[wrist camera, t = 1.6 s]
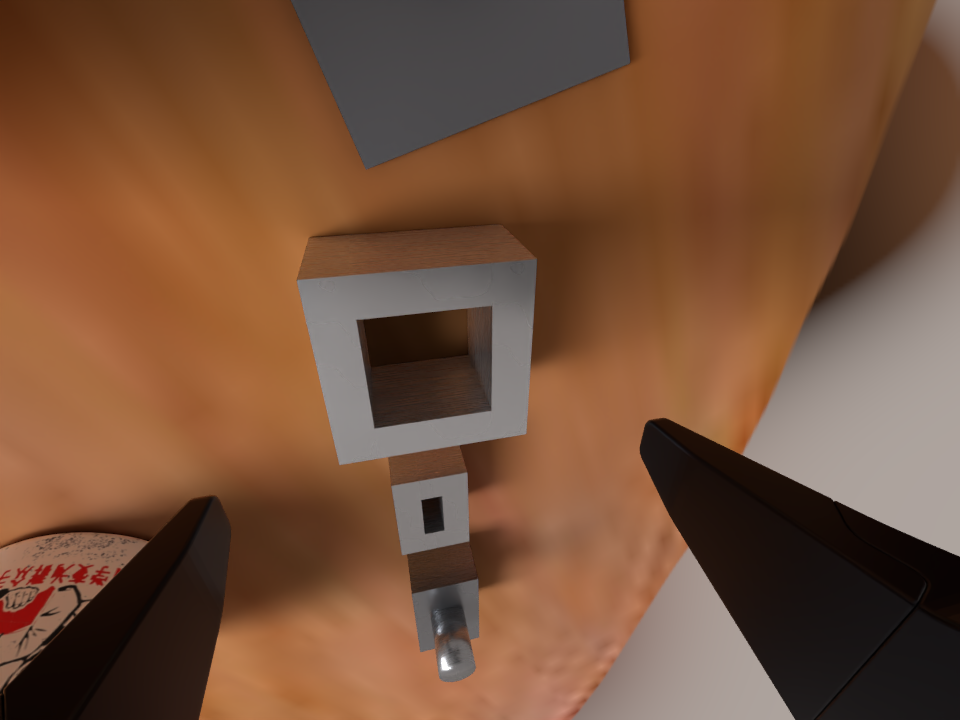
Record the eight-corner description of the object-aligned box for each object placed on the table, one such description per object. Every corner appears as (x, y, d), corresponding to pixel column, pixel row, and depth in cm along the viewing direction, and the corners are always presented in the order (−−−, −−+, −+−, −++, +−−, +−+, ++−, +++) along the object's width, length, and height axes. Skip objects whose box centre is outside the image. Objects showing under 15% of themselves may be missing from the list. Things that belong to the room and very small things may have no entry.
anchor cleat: (469, 593, 25) (490, 689, 21) (415, 605, 25) (426, 707, 21) (467, 534, 22) (491, 632, 18) (406, 547, 22) (418, 650, 18)
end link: (498, 376, 18) (526, 434, 15) (342, 398, 17) (339, 464, 14) (501, 224, 15) (537, 258, 12) (308, 237, 14) (296, 280, 11)
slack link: (458, 497, 21) (469, 541, 19) (397, 509, 20) (401, 555, 18) (455, 431, 19) (467, 472, 17) (387, 442, 18) (391, 486, 16)
